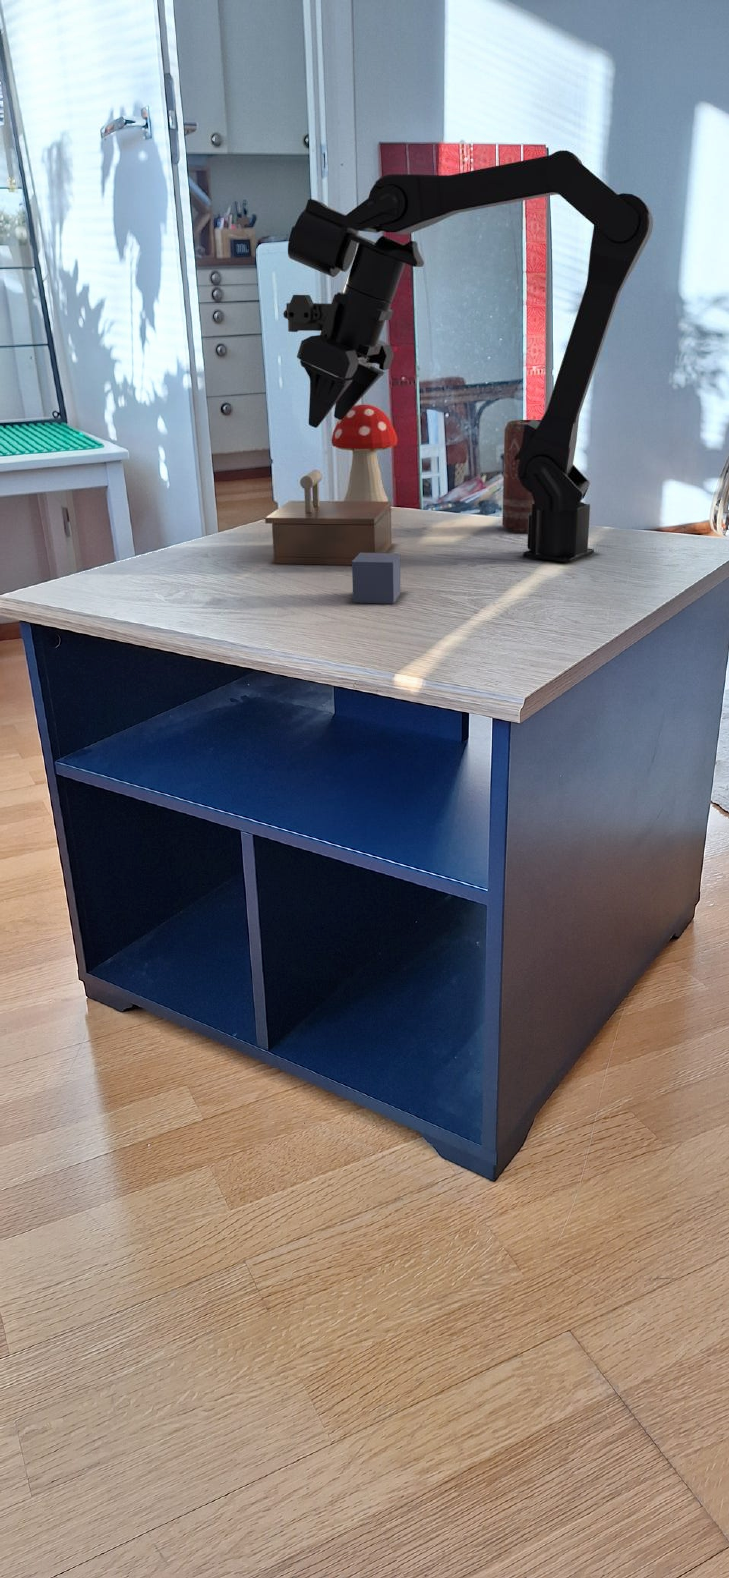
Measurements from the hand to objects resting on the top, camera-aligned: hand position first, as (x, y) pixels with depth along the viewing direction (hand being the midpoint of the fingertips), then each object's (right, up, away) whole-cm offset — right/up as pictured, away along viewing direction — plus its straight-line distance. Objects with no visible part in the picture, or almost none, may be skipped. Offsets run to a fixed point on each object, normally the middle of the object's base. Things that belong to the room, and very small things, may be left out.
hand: (325, 422), depth 137 cm
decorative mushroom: (+5, -3, +30) cm, 31 cm away
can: (+27, -10, +14) cm, 32 cm away
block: (+6, -25, -18) cm, 31 cm away
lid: (+1, -11, +1) cm, 11 cm away
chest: (+1, -16, +3) cm, 16 cm away
